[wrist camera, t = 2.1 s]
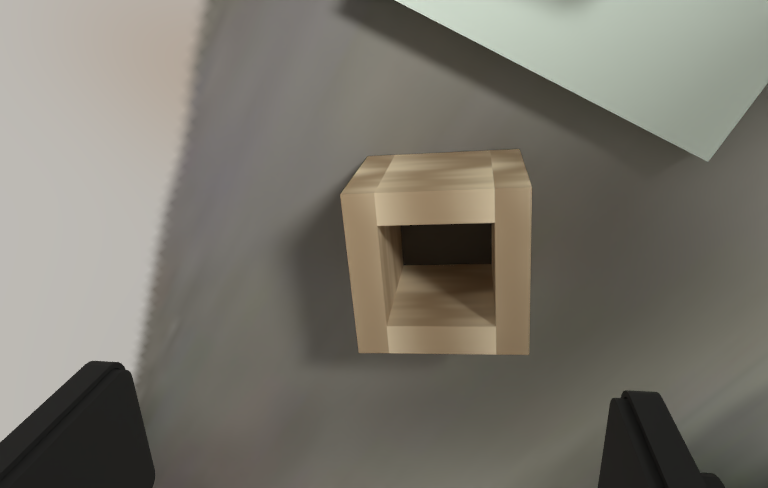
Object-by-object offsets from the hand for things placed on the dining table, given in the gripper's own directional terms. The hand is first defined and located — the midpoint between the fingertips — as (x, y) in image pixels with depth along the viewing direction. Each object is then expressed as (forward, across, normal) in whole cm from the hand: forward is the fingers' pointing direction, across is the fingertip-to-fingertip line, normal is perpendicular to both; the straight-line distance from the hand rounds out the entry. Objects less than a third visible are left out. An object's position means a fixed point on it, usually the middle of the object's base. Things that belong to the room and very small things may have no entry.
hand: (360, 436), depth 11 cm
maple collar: (+17, -1, +2) cm, 17 cm away
